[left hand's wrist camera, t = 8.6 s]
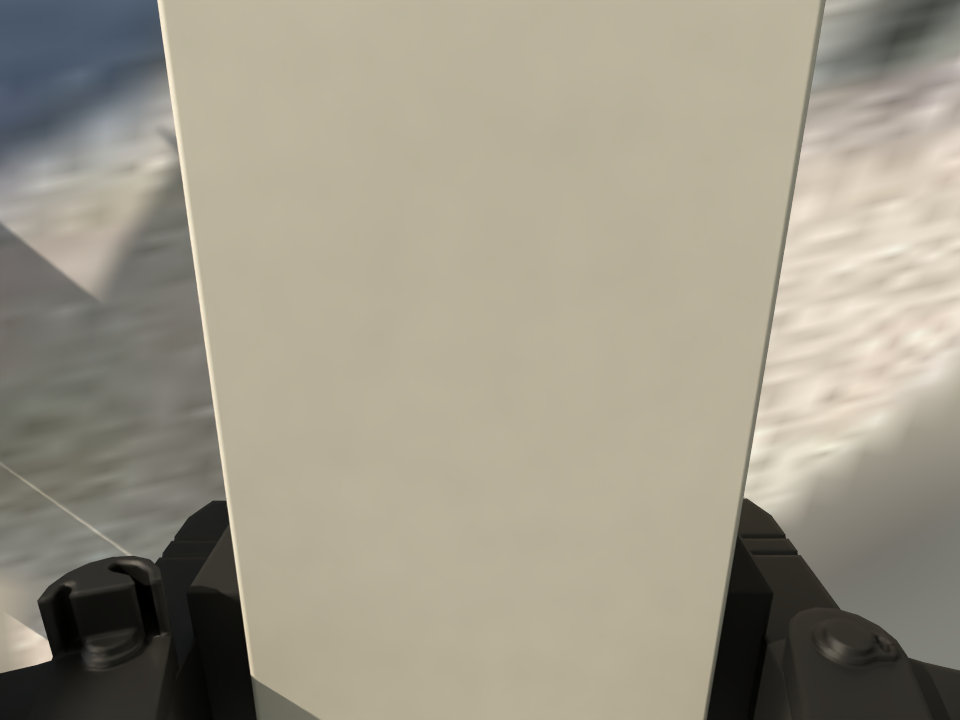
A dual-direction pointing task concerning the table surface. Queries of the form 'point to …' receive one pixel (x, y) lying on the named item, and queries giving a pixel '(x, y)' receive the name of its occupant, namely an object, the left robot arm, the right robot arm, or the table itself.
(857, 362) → the table surface
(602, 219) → the bar
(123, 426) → the table surface
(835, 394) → the table surface
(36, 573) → the table surface
